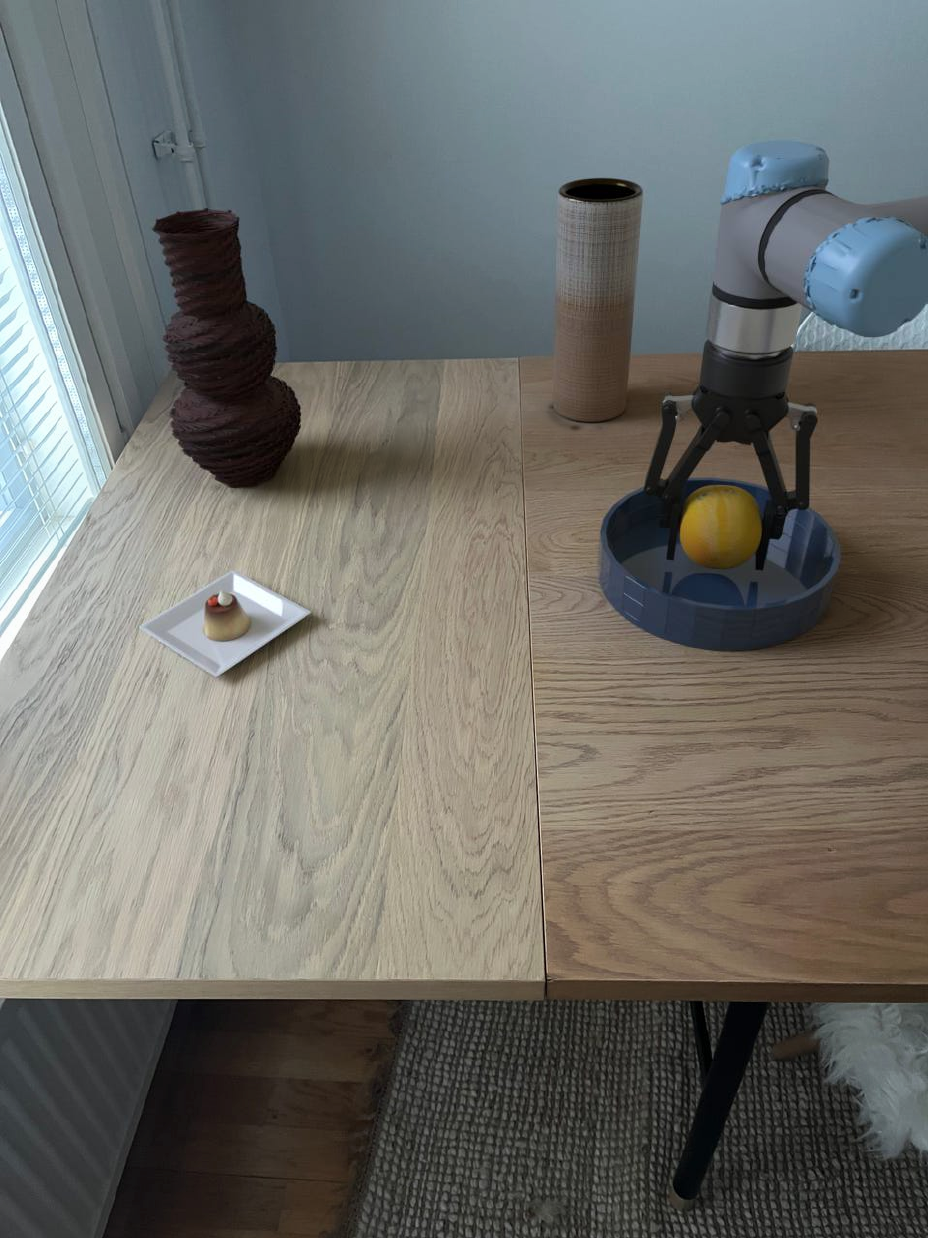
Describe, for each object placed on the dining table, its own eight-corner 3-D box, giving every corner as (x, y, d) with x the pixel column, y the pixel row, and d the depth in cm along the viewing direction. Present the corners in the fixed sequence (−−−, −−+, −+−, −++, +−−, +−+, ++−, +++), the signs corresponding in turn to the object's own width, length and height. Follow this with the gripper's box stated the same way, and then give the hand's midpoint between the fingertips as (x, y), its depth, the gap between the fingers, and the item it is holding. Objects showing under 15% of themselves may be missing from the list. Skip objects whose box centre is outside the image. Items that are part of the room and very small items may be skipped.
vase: (176, 509, 112) (106, 248, 93) (193, 446, 124) (134, 204, 105) (307, 498, 112) (264, 238, 94) (311, 437, 124) (274, 195, 105)
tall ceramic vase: (594, 383, 134) (605, 172, 116) (641, 409, 127) (661, 189, 110) (537, 403, 130) (541, 187, 112) (583, 430, 123) (594, 205, 106)
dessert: (140, 635, 94) (128, 597, 90) (235, 577, 101) (226, 540, 98) (218, 686, 87) (207, 646, 84) (313, 620, 94) (306, 582, 91)
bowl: (825, 528, 104) (834, 488, 101) (835, 666, 86) (847, 624, 83) (613, 506, 109) (616, 468, 106) (582, 633, 91) (584, 592, 88)
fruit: (661, 540, 99) (669, 474, 94) (734, 530, 100) (745, 463, 95) (692, 590, 92) (703, 521, 87) (770, 579, 93) (785, 510, 88)
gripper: (874, 332, 82) (821, 548, 97) (632, 317, 87) (616, 526, 101) (881, 368, 77) (824, 592, 91) (622, 351, 81) (606, 566, 95)
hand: (714, 557), depth 96 cm, fingers closed on fruit, 8 cm apart
